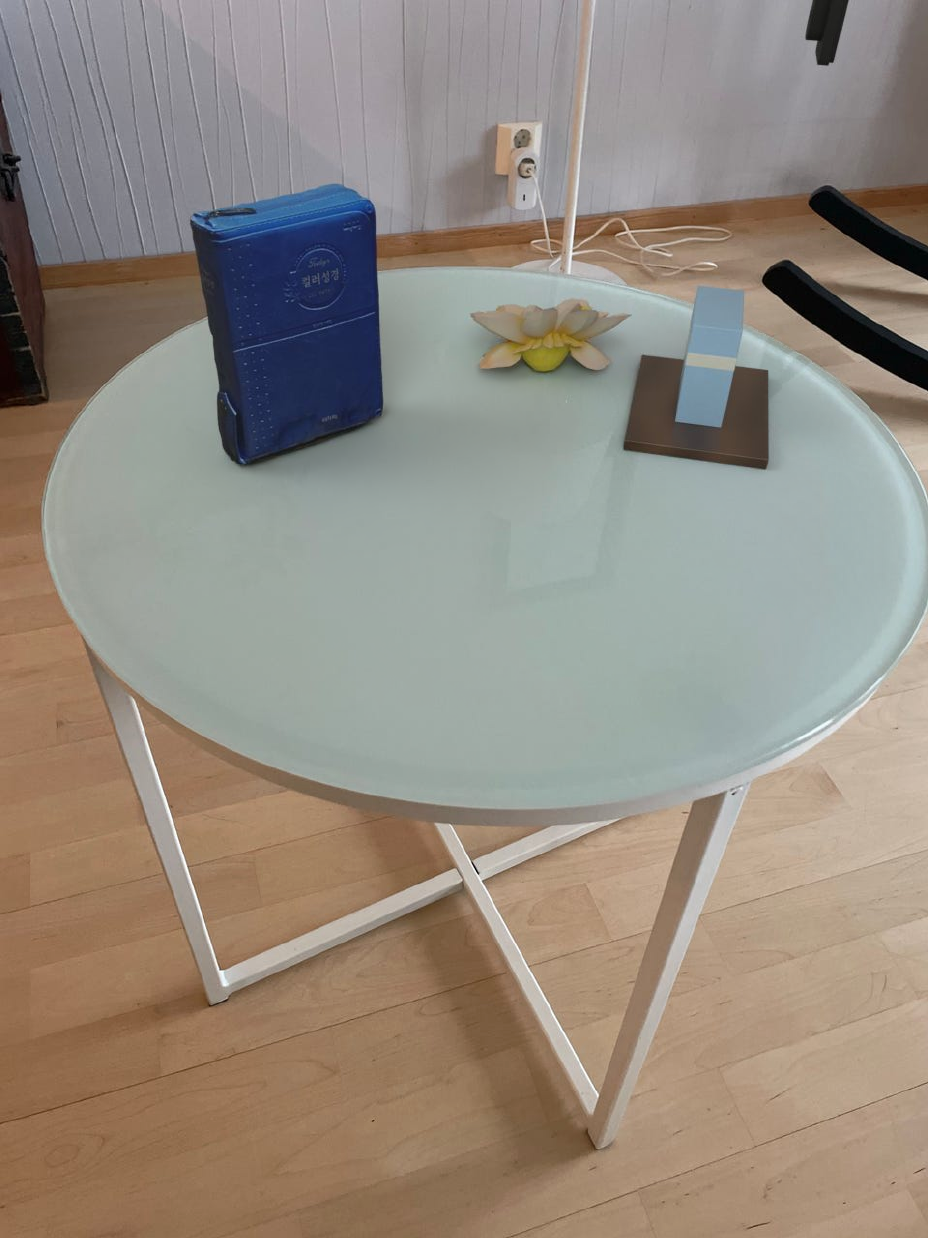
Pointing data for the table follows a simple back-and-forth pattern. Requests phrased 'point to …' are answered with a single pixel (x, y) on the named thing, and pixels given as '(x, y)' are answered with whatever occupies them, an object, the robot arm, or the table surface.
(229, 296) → the book
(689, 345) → the box
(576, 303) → the decorative flower
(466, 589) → the table surface
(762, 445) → the brown wooden board
